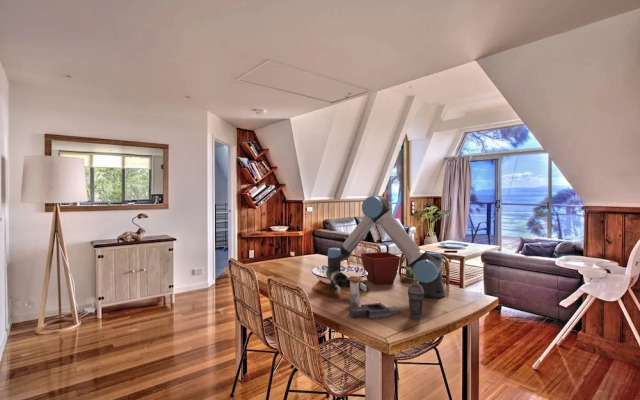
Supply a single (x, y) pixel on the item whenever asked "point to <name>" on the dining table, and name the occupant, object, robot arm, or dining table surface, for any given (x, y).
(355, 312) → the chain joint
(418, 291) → the beverage cup
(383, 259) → the plant pot
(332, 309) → the dining table surface
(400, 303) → the dining table surface
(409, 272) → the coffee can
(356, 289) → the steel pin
